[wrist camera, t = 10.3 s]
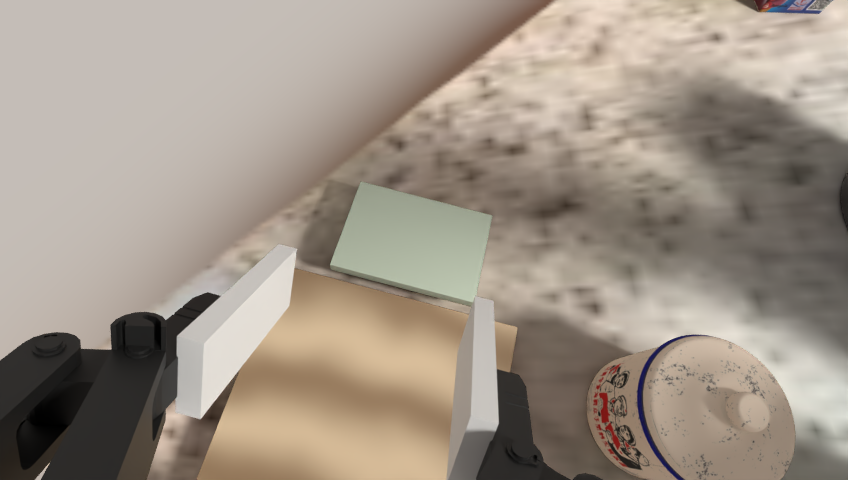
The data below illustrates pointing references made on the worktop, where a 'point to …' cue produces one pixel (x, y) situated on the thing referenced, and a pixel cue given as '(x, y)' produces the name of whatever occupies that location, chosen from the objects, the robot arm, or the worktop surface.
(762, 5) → the juice carton
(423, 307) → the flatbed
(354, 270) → the panel
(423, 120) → the worktop surface
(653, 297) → the worktop surface
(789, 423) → the teacup with lid
